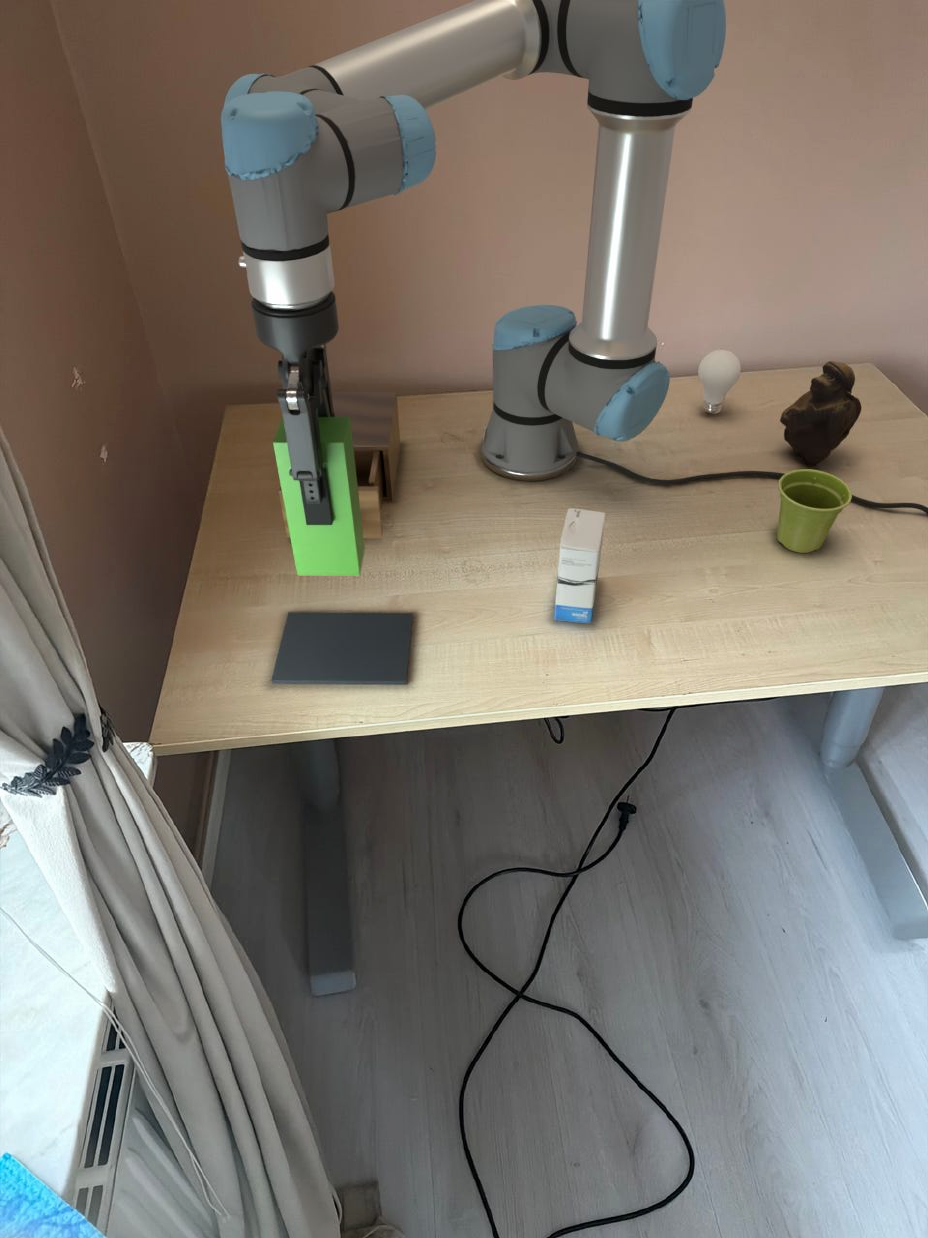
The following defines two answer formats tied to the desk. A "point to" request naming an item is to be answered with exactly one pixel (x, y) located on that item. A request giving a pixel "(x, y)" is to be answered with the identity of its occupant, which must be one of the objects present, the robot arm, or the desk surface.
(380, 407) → the cabinet
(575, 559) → the ink box
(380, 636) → the slate mat
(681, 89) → the robot arm
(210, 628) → the desk surface
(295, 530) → the tall green prism
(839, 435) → the sculpture
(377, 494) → the drawer
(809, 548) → the plant pot
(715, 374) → the light bulb
